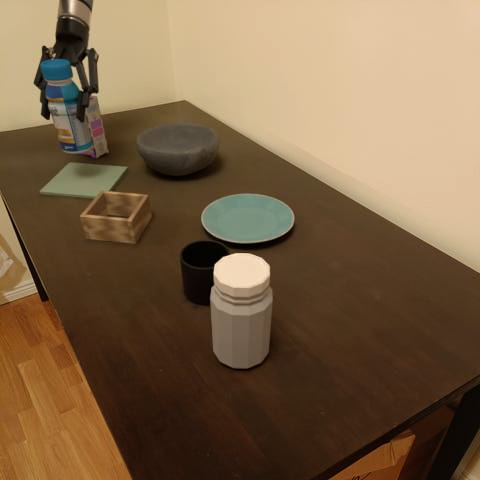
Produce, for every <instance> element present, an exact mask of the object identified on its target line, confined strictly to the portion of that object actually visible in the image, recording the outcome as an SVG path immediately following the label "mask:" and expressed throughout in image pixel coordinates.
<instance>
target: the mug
mask: <svg viewBox="0 0 480 480" xmlns="http://www.w3.org/2000/svg"><path fill="white" fill-rule="evenodd" d="M228 255H231V251H230V249H229V247H228V246H227V245H226V244H225V243H222V242H220V241H217V240H214V239H197V240H194V241H191V242H189V243H188V244H187V243H186V245H184V246H183V248H182V249H181V250H180V252H179V262H180V270H181V279H182V289H183V294H184V296H185V297H186V298H187V299H188V301H190V302H191V303H194V304H196V305H200V306H211V303H210V297H211V289H212V287H213V286H214V285H215V283H214V266H215V264H216V263H217V262H218V261H219V260H220V259H221V258H222V257H225V256H228Z"/></svg>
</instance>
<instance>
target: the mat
mask: <svg viewBox="0 0 480 480" xmlns="http://www.w3.org/2000/svg"><path fill="white" fill-rule="evenodd" d="M127 171H129V167H128V166H122V165H121V166H119V165H109V164H107V165H106V164H96V163H95V164H94V163H82V162H69V161H68V163H67V164H66V165H65V166H64V167H62V169H61V170H60V171H58V173H57V174H56V175H54V176H53V177H52V179H50V181H49V182H47V183H46V184H45V185H44V186H43V187H42V188H41V189H40V190H39V194H40V195H48V196H58V197H69V198H82V199H92V200H94V199H95V197H96V196H97V195H98V194H99V193H100V191H111V192H112V191H113V189H115V187H116V185H118V183H119V182H120V181H121V180H122V178H123V177H124V175H125V174H126V173H127Z"/></svg>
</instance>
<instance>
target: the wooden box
mask: <svg viewBox="0 0 480 480" xmlns="http://www.w3.org/2000/svg"><path fill="white" fill-rule="evenodd" d="M151 208H152V207H151V202H150V196H149V194H143V193H133V192H120V191H112V190H111V191H100V193H99V194H98V195H97V196H96V197H95V199H92V201H91V202H90V203H89V204H88V206H87V207H86V208H85V209H84V211H82V213H81V214H80V216H79V218H80V222H81V225H82V228H83V229H82V230H83V232H84V235H85V239H86V240H94V241H101V242H102V241H103V242H110V243H111V242H113V243H120V244H121V243H122V244H123V243H124V244H132V245H136V244H137V243H138V241H139V240H140V238H141V236H142V234H143V233H144V232H145V229H146V228H147V227H148V225H149V224H150V221H151V219H152V218H153V214H152V209H151Z"/></svg>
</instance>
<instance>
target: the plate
mask: <svg viewBox="0 0 480 480" xmlns="http://www.w3.org/2000/svg"><path fill="white" fill-rule="evenodd" d="M200 219H201V220H200V221H201V224H202V227H203V228H204V229H205V231H207V232H208V233H209V235H212V236H213V237H214V238H217V239H219V240H221V241H225V242H227V243H233V244H245V245H247V244H248V245H249V244H259V243H264V242H269V241H272V240H276V239H278V238H281V237H282V236H284V235H286V234H287V233H288V232H289V231H290V230H291V229H292V228H293V226H294V223H295V214H294V211H293V209H292V208H291V207H290V206H289V205H287V204H286V203H285V202H283V201H282V200H279V199H277V198H275V197H272V196H269V195H264V194H260V193H236V194H231V195H230V194H229V195H227V196H223V197H220V198H219V199H218V198H217V199H216V200H214V201H212V202H211V203H209V204H208V205H207V206H206V207H205V208H204V210H203V211H202V213H201V216H200Z"/></svg>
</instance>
